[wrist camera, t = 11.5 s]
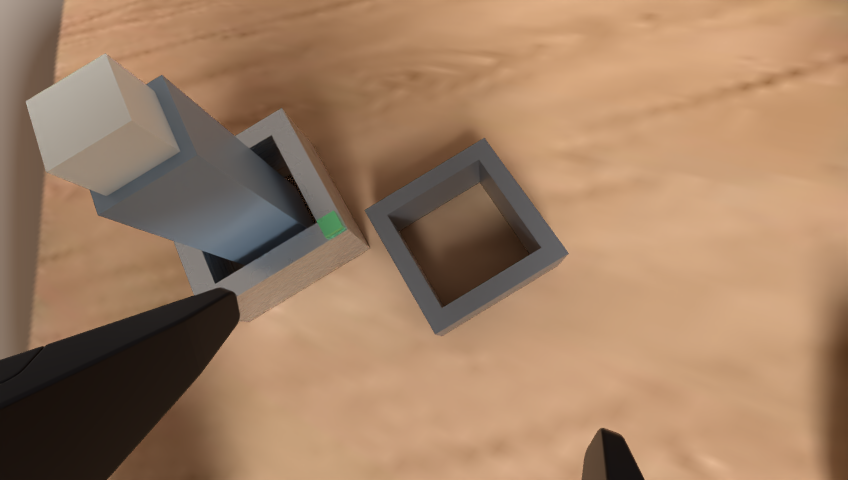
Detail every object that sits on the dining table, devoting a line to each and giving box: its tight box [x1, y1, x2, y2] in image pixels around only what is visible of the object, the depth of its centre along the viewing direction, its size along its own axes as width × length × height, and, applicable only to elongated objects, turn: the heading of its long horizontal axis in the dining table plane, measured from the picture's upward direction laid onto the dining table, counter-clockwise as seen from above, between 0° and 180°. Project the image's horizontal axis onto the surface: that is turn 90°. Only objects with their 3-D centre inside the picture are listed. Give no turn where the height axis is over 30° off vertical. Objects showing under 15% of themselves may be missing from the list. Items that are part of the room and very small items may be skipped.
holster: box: [365, 138, 569, 336], centre depth 21 cm, size 7×7×3 cm
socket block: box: [174, 108, 370, 322], centre depth 23 cm, size 8×8×4 cm
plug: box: [26, 53, 314, 265], centre depth 19 cm, size 4×4×13 cm
